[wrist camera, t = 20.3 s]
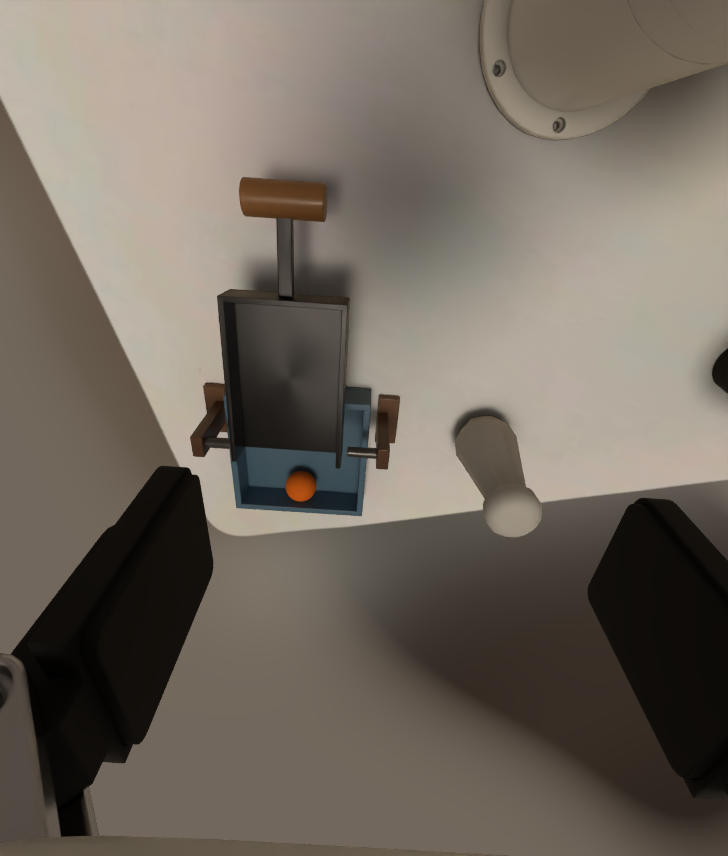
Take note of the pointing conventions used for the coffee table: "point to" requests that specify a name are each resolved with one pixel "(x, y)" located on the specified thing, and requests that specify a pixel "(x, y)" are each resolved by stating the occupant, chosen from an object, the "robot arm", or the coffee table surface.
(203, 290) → the coffee table surface
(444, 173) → the coffee table surface
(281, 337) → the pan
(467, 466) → the salt shaker
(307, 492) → the ball
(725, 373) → the drinking cup
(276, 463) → the tray
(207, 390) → the stand
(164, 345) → the coffee table surface
